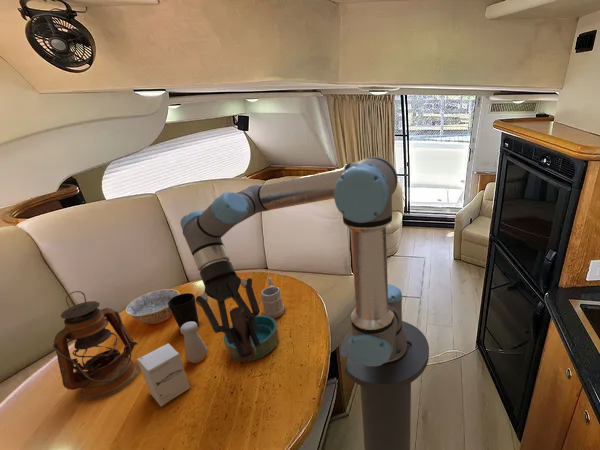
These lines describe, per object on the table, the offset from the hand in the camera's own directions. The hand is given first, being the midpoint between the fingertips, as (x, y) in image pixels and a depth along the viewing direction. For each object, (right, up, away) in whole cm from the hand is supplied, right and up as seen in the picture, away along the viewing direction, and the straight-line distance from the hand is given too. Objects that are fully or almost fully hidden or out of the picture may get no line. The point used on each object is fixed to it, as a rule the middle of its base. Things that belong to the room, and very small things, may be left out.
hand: (249, 349), depth 76 cm
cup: (-38, -6, +35) cm, 52 cm away
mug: (-12, -2, +44) cm, 46 cm away
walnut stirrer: (-3, -3, +4) cm, 6 cm away
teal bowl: (-11, -9, +26) cm, 30 cm away
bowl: (-53, -4, +40) cm, 66 cm away
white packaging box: (-27, -16, +10) cm, 33 cm away
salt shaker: (-26, -11, +21) cm, 36 cm away
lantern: (-47, -15, +14) cm, 51 cm away
